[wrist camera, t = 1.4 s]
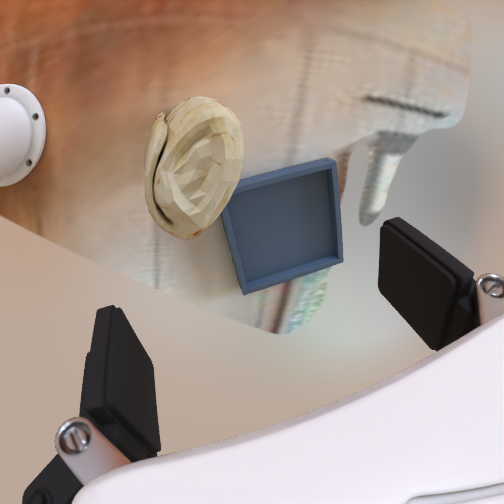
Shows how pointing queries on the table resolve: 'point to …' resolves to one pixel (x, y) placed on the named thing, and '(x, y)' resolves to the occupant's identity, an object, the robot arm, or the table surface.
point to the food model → (192, 165)
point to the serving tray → (284, 224)
